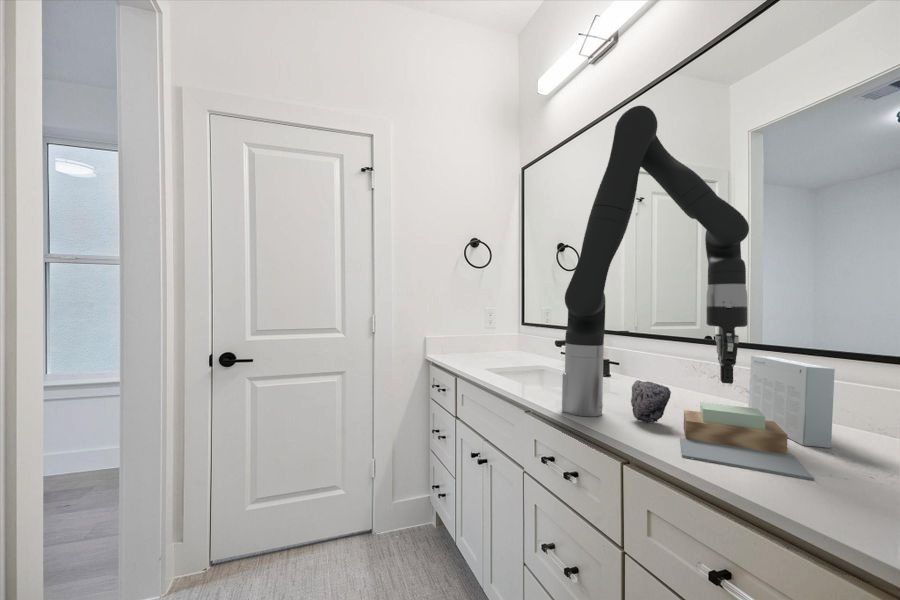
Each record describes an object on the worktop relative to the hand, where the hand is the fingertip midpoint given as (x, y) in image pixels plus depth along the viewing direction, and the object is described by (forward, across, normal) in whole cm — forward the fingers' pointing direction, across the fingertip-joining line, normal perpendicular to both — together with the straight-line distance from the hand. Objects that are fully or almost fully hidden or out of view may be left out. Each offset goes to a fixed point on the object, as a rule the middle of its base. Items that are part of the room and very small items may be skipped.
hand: (726, 382), depth 89 cm
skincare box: (+11, -6, +12) cm, 17 cm away
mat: (+10, +19, 0) cm, 22 cm away
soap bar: (+6, +8, 0) cm, 11 cm away
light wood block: (+10, +8, 0) cm, 14 cm away
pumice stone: (+10, +4, -15) cm, 19 cm away
